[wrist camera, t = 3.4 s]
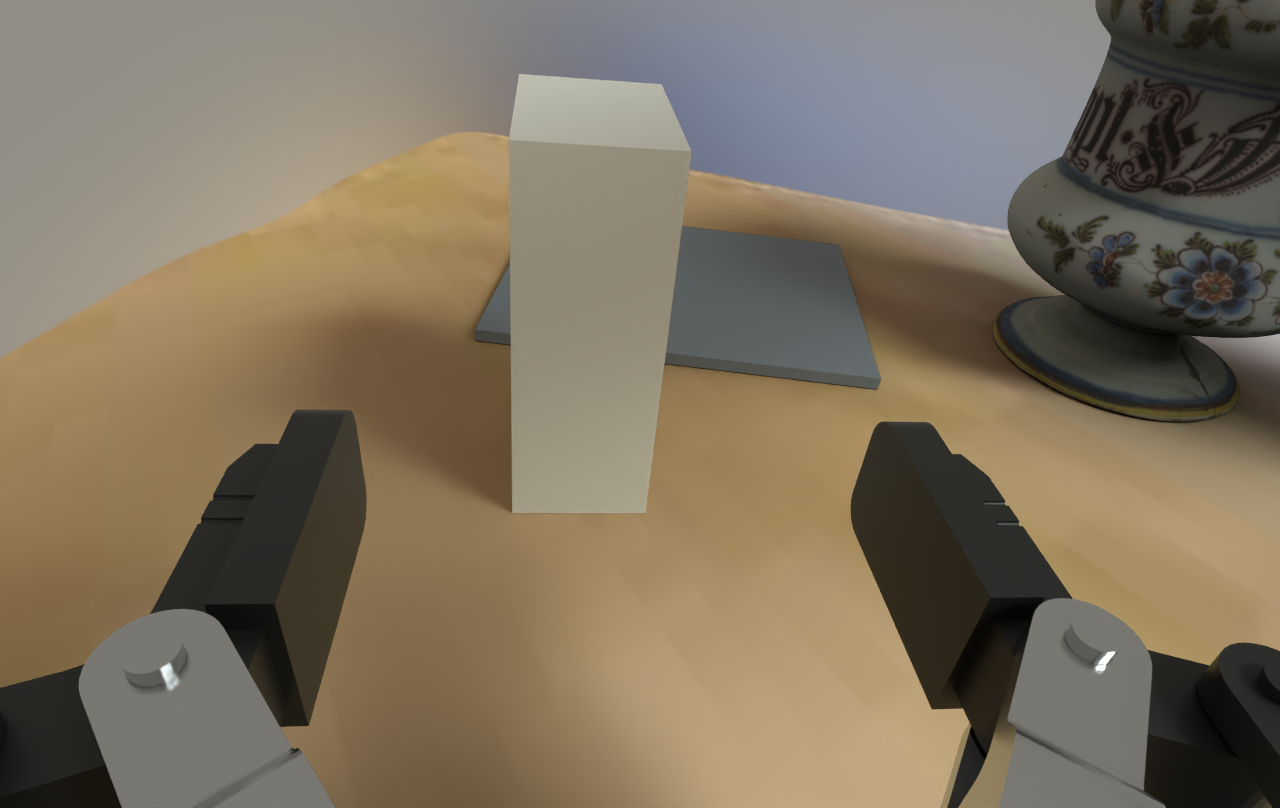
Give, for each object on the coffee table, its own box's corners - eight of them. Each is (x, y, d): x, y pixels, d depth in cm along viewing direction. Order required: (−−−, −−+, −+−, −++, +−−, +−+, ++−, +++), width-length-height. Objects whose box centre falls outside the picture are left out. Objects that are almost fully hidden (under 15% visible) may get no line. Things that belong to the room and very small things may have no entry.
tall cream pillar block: (629, 399, 28) (661, 84, 22) (645, 513, 23) (691, 151, 17) (519, 397, 28) (519, 73, 21) (512, 513, 23) (508, 139, 17)
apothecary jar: (1230, 334, 37) (1504, -112, 27) (1299, 479, 28) (1761, -119, 18) (971, 273, 40) (1127, -147, 30) (956, 384, 31) (1174, -167, 21)
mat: (836, 253, 41) (839, 244, 41) (877, 389, 30) (881, 378, 30) (538, 218, 41) (538, 209, 41) (475, 340, 31) (474, 329, 30)
